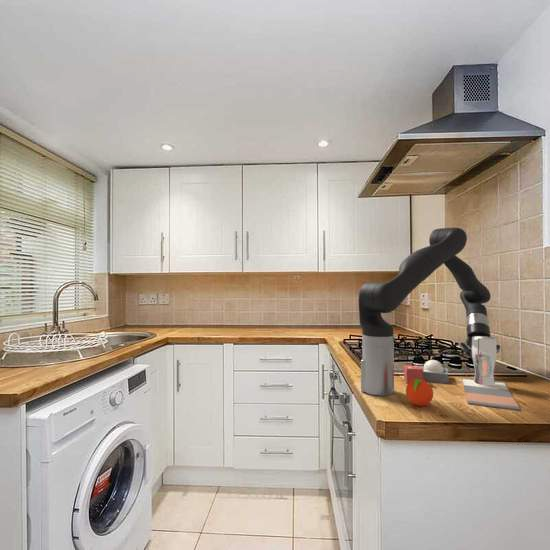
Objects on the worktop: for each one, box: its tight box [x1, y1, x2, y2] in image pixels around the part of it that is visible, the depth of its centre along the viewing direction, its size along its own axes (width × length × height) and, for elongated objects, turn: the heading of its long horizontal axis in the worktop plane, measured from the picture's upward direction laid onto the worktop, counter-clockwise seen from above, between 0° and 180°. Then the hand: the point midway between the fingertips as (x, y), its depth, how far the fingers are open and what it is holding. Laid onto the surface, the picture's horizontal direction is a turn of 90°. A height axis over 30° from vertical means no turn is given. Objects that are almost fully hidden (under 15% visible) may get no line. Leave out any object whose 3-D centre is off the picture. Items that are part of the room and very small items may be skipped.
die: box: [403, 364, 423, 385], centre depth 117 cm, size 5×5×5 cm
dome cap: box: [423, 359, 444, 373], centre depth 122 cm, size 6×6×6 cm
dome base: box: [419, 365, 449, 384], centre depth 122 cm, size 9×9×3 cm
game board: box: [462, 377, 521, 411], centre depth 106 cm, size 12×28×1 cm, turn 155°
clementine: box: [405, 379, 434, 407], centre depth 95 cm, size 8×7×7 cm
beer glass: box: [471, 336, 498, 387], centre depth 114 cm, size 7×7×15 cm
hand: (481, 368), depth 121 cm, fingers closed
